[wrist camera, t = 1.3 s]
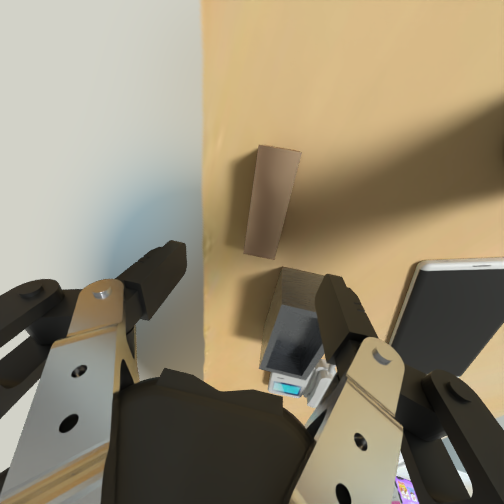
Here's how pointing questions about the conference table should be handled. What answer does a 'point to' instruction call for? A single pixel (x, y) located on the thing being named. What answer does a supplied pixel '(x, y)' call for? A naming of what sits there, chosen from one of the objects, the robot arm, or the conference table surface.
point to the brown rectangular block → (270, 199)
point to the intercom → (304, 383)
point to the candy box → (404, 492)
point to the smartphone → (450, 313)
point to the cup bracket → (292, 326)
